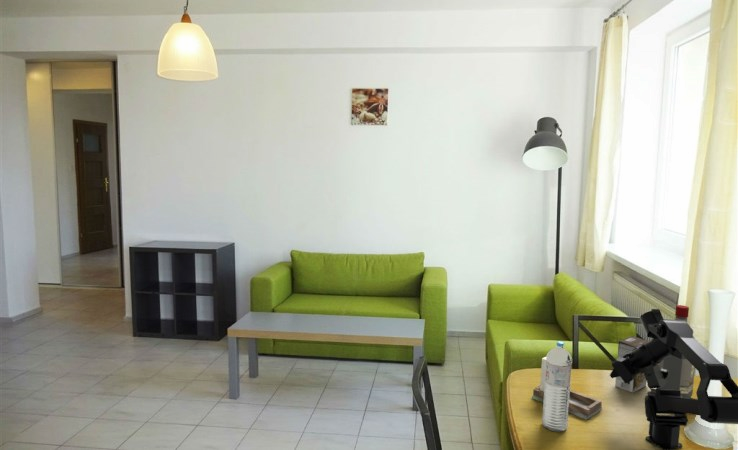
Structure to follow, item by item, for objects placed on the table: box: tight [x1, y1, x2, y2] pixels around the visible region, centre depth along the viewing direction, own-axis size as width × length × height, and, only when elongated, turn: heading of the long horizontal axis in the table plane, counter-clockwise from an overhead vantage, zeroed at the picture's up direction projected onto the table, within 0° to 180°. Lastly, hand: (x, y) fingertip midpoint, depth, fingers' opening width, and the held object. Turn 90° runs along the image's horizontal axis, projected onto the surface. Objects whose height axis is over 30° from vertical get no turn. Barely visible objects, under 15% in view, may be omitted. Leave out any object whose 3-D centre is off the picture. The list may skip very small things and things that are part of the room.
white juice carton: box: [539, 356, 547, 392], centre depth 164 cm, size 6×6×13 cm
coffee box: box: [614, 335, 650, 393], centre depth 174 cm, size 9×6×16 cm
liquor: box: [655, 304, 696, 398], centre depth 167 cm, size 9×9×30 cm
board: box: [531, 385, 603, 420], centre depth 161 cm, size 18×10×3 cm, turn 42°
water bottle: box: [541, 340, 573, 433], centre depth 145 cm, size 7×7×25 cm
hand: (611, 376), depth 152 cm, fingers closed
